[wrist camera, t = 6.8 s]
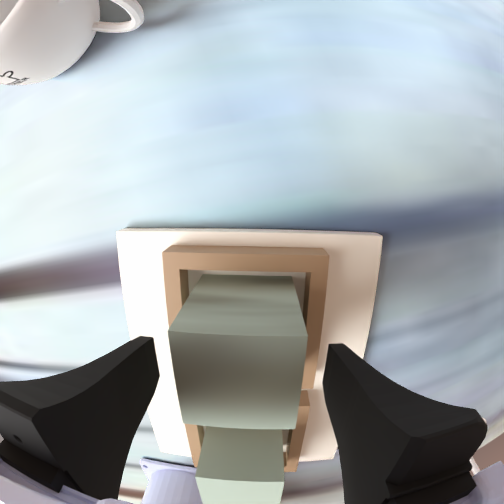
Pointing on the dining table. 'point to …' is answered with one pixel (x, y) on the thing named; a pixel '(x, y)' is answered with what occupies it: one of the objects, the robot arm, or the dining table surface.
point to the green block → (239, 352)
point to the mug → (52, 35)
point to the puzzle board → (316, 322)
